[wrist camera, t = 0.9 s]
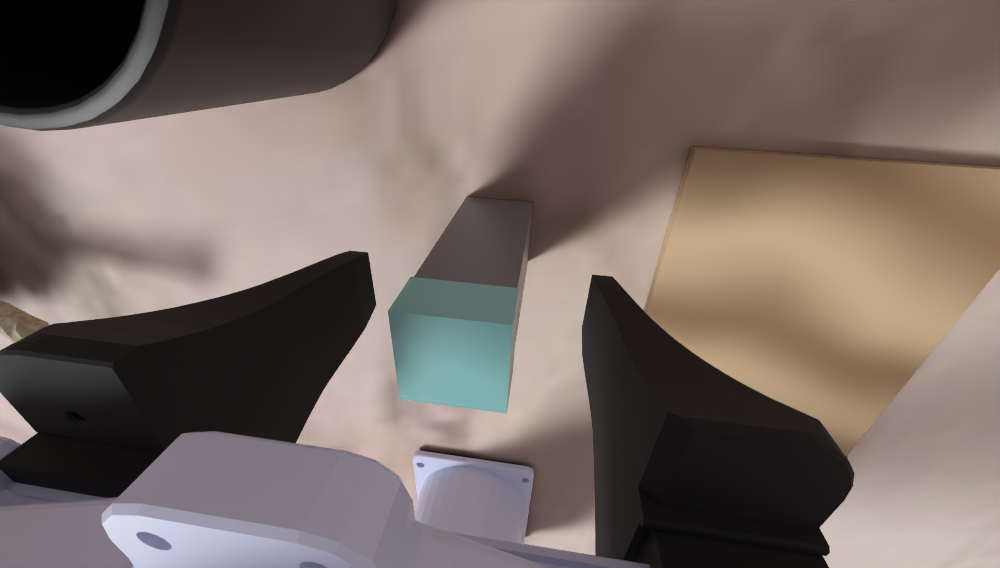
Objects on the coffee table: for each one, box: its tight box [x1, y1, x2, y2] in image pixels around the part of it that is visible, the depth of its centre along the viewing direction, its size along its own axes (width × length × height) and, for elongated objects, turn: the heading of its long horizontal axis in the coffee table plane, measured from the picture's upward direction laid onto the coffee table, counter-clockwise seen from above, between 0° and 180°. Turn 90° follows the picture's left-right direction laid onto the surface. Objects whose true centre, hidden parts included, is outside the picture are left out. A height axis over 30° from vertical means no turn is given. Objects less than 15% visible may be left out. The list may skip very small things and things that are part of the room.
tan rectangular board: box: [644, 146, 1000, 458], centre depth 17 cm, size 16×12×1 cm
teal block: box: [388, 197, 533, 413], centre depth 13 cm, size 3×3×9 cm
